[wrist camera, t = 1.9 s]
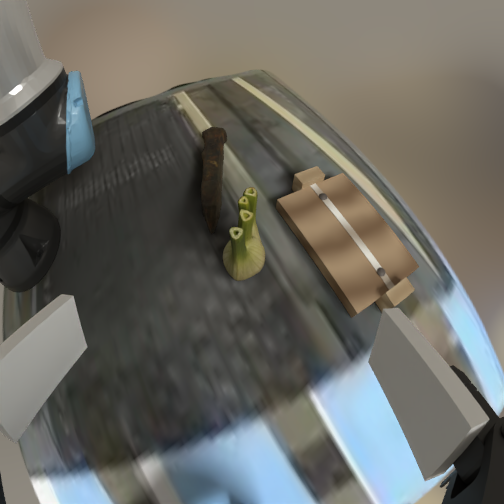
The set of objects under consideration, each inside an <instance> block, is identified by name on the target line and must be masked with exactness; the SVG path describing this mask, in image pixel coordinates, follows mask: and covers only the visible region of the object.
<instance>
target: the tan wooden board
mask: <svg viewBox="0 0 504 504" xmlns="http://www.w3.org/2000/svg"><path fill="white" fill-rule="evenodd" d="M324 177H325V174H324V173H323V172H322V171H321V170H320V169H319V168H318V167H317V166H316V167H313V168H310V169H308V170H305V171H302V172H300V173H297V174H295V175H294V180H293V185H292V190H293V191H294V193H292V194H289V195H287V196H284V197H282V198H280V199H277V205H276V209H277V210H278V212H279V213H280V215H281V216H282V217H283V219H284V220H285V221H286V223H287V224H288V226H289V227H290V228H291V230H292V231H293V233H294V234H295V235H296V237H297V238H298V240H299V241H300V242H301V244H302V245H303V247H304V248H305V250H306V251H307V252H308V254H309V255H310V257H311V258H312V260H313V261H314V262H315V264H316V265H317V267H318V268H319V270H320V271H321V273H322V274H323V276H324V277H325V278H326V280H327V281H328V283H329V284H330V286H331V287H332V289H333V290H334V292H335V293H336V295H337V296H338V298H339V299H340V301H341V302H342V304H343V305H344V307H345V308H346V310H347V312H348V313H349V315H350V316H351V318H352V317H354V316H355V315H357V314H358V313H359V312H361V311H362V310H364V309H365V308H367V307H368V306H369V305H371V304H372V303H373V302H375V303H376V304H377V306H378V307H379V309H380V310H381V312H382V311H383V309H388V308H393V307H395V306H396V305H397V304H399V303H400V302H401V301H402V300H403V299H405V298H406V297H407V296H408V295H409V294H411V293H412V292H413V291H414V290H415V289H414V288H413V286H412V285H411V283H410V282H409V280H408V279H407V278H406V277H408V276H409V275H410V274H411V273H413V272H414V271H415V270H416V269H417V268H418V267H419V266H418V264H417V263H416V261H415V260H414V259H413V257H412V256H411V254H410V253H409V252H408V250H407V249H406V248H405V246H404V245H403V244H402V242H401V241H400V240H399V238H398V237H397V236H396V235H395V233H394V232H393V231H392V229H391V228H390V227H389V226H388V224H387V223H386V222H385V221H384V219H383V218H382V217H381V216H380V215H379V213H378V212H377V211H376V210H375V208H374V207H373V206H372V205H371V204H370V203H369V201H368V200H367V199H366V198H365V197H364V196H363V194H362V193H361V192H360V191H359V190H358V189H357V188H356V187H355V185H354V184H353V183H352V182H351V181H350V180H349V179H348V178H347V177H346V176H345V175H344V173H342V174H339V175H337V176H334V177H331V178H329V179H326V180H324ZM323 180H324V181H323Z"/></svg>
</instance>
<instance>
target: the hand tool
mask: <svg viewBox="0 0 504 504" xmlns="http://www.w3.org/2000/svg"><path fill="white" fill-rule="evenodd" d="M202 137H203V138H204V140H205V147H204V151H203V152H202V159H203V179H202V184H201V201H202V208H203V215H204V216H205V220H206V221H207V224H208V227H209V231H210V233H211V234H213V233H214V231H215V229H216V226H217V223H218V219H219V215H220V210H221V205H222V203H221V191H222V175H223V160H224V156H223V154H224V151H223V146H224V143H225V142H226V141H227V134H226V132H225V130H224V129H223V128H218V127H211V128H209V129H207V130H205V131H203V132H202Z"/></svg>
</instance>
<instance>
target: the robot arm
mask: <svg viewBox="0 0 504 504" xmlns="http://www.w3.org/2000/svg"><path fill="white" fill-rule="evenodd" d="M94 151H95V138H94V133H93V128H92V122H91V118H90V113H89V108H88V103H87V98H86V93H85V89H84V84H83V80H82V77H81V73H80V72H79V71H74V72H72V71H71V72H69V74H68V75H67V74H66V72H65V70H64V68H63V64H62V63H61V62H60V61H57V60H52V59H47V58H46V57H45V56H44V54H43V51H42V48H41V45H40V42H39V40H38V37H37V34H36V30H35V27H34V24H33V21H32V18H31V14H30V11H29V7H28V4H27V0H0V283H1V284H2V285H4V286H5V287H7V288H8V289H10V290H11V291H14V292H23V291H26V290H28V289H30V288H32V287H33V286H35V285H36V284H37V283H38V282H39V281H40V280H41V279H42V278H43V277H44V275H45V274H46V273H47V271H48V270H49V268H50V266H51V265H52V263H53V261H54V258H55V256H56V253H57V250H58V247H59V242H60V226H59V223H58V221H57V219H56V218H55V216H54V215H53V214H52V213H51V212H50V211H49V210H48V209H47V208H46V207H44V206H41V205H39V204H37V203H36V202H34V201H32V200H30V199H28V197H29V196H31V195H32V194H34V193H35V192H37V191H39V190H40V189H42V188H43V187H45V186H46V185H48V184H50V183H51V182H53V181H55V180H56V179H58V178H60V177H62V176H63V175H65V174H70V173H71V171H72V170H73V169H75V168H77V167H78V166H80V165H82V164H83V163H85V162H87V161H88V160H89V159H90V158H91V157H92V156H93V154H94ZM86 348H87V344H86V341H85V338H84V334H83V331H82V328H81V324H80V320H79V316H78V313H77V309H76V304H75V300H74V296H71V295H64V294H61V295H60V296H58V297H57V298H56V299H55V300H53V301H52V302H51V303H49V304H48V305H47V306H46V307H44V308H43V309H42V310H41V311H39V312H38V313H37V314H36V315H35V316H33V317H32V318H31V319H30V320H28V321H27V322H26V323H25V324H24V325H22V326H21V327H20V328H19V329H18V330H17V331H15V332H14V333H13V334H12V335H11V336H10V337H8V338H7V339H6V340H5V341H4V342H3V343H2V344H1V345H0V431H1V432H2V433H3V435H4V436H5V437H7V438H8V439H10V440H12V441H13V442H15V443H17V442H18V440H19V438H20V437H21V435H22V434H23V432H24V431H25V430H26V428H27V427H28V425H29V424H30V422H31V421H32V419H33V418H34V416H35V415H36V414H37V412H38V411H39V409H40V408H41V407H42V405H43V404H44V402H45V401H46V400H47V398H48V397H49V396H50V394H51V393H52V392H53V390H54V389H55V388H56V386H57V385H58V384H59V382H60V381H61V380H62V378H63V377H64V376H65V375H66V373H67V372H68V371H69V369H70V368H71V367H72V366H73V364H74V363H75V362H76V361H77V359H78V358H79V357H80V356H81V354H82V353H83V352H84V351H85V349H86ZM369 364H370V366H371V368H372V370H373V372H374V374H375V376H376V378H377V379H378V381H379V383H380V385H381V387H382V389H383V391H384V393H385V395H386V397H387V399H388V401H389V403H390V405H391V407H392V409H393V412H394V414H395V416H396V418H397V420H398V422H399V424H400V426H401V428H402V430H403V433H404V435H405V437H406V439H407V441H408V443H409V446H410V448H411V450H412V452H413V455H414V457H415V459H416V461H417V464H418V466H419V468H420V471H421V473H422V475H423V478H424V480H425V481H427V480H430V479H432V478H434V477H437V476H439V475H441V474H444V473H445V472H446V471H447V469H448V468H449V467H450V466H451V465H452V464H454V466H455V468H456V469H455V471H454V472H452V473H451V474H450V475H449V477H447V478H446V479H445V480H444V481H443V482H442V484H441V485H440V487H443V486H444V485H446V484H447V483H448V482H449V485H448V486H447V487H446V489H447V491H446V494H445V496H444V499H443V502H442V504H504V417H502V418H499V417H498V416H497V415H496V413H495V412H494V411H493V409H492V408H491V407H490V405H489V404H488V403H487V401H486V400H485V399H484V397H483V396H482V395H481V394H480V392H479V391H477V388H476V387H475V386H474V385H473V384H471V381H470V380H469V379H468V377H467V376H466V375H465V374H464V373H463V372H462V371H460V370H459V369H457V368H456V367H455V366H449V365H448V364H447V363H446V362H445V360H444V359H443V358H442V357H441V356H440V354H439V353H438V352H437V351H436V350H435V348H434V347H433V346H432V345H431V344H430V343H429V341H428V340H427V339H426V338H425V337H424V336H423V335H422V333H421V332H420V331H419V330H418V329H417V328H416V327H415V326H414V324H413V323H412V322H411V321H410V320H409V319H408V318H407V317H406V316H405V314H404V313H403V312H402V311H401V310H400V309H399V308H388V309H383V311H382V315H381V319H380V323H379V327H378V331H377V334H376V338H375V342H374V345H373V349H372V352H371V355H370V358H369ZM0 504H6V501H5V497H4V492H3V486H2V481H1V474H0Z"/></svg>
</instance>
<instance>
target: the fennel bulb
mask: <svg viewBox="0 0 504 504" xmlns="http://www.w3.org/2000/svg"><path fill="white" fill-rule="evenodd" d="M256 204H257V190H256V189H255V188H253V187H249V188H247V189H246V190H245V191H244V193H243V196H242V197H241V198H240V199H239V200H238V207H239V220H238V227H231V229H230V230H229V235H230V241H229V242H228V243H227V245H226V247H225V248H224V251H223V263H224V266H225V268H226V270H227V272H228V273H229V274H230V276H231V277H232V278H233V279H234V280H237V281H241V280H245V279H248V278H250V277H252V276H254V275H255V274H257V273H259V272H260V271H261V269H262V268H263V266H264V263H265V251H264V247H263V245H262V243H261V240H260V237H259V232H258V228H257V225H256Z"/></svg>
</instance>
